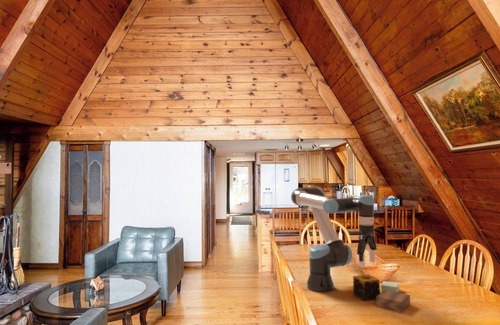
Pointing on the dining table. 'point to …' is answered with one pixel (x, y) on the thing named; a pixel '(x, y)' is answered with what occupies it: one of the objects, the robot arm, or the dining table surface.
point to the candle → (366, 287)
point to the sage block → (390, 286)
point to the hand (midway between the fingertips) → (367, 264)
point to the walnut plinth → (393, 301)
